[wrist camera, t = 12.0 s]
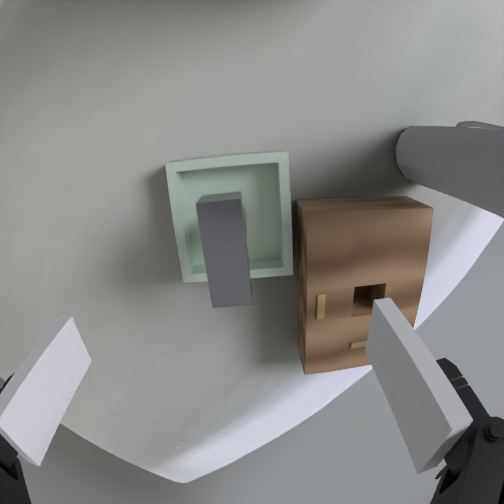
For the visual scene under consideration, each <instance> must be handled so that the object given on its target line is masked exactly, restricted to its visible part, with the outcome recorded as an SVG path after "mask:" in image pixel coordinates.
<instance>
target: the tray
mask: <svg viewBox="0 0 504 504" xmlns="http://www.w3.org/2000/svg"><path fill="white" fill-rule="evenodd" d="M165 167H166V175H167V183H168V191H169V198H170V205H171V212H172V219H173V225H174V232H175V238H176V244H177V250H178V255H179V261H180V267H181V272H182V277H183V283H191V282H207V281H208V278H207V272H206V267H205V261H204V255H203V249H202V243H201V236H200V230H199V224H198V217H197V210H196V202H197V201H198V200H199V199H200V197H201V196H203V195H211V194H219V193H228V192H237V191H241V193H242V202H243V207H244V208H245V210H246V213H247V248H248V257H249V266H250V275H251V278H262V277H275V276H287V275H293V247H292V217H291V193H290V173H289V155H288V152H287V151H270V152H255V153H242V154H230V155H220V156H210V157H201V158H193V159H185V160H177V161H172V162H168V163H165Z"/></svg>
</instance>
